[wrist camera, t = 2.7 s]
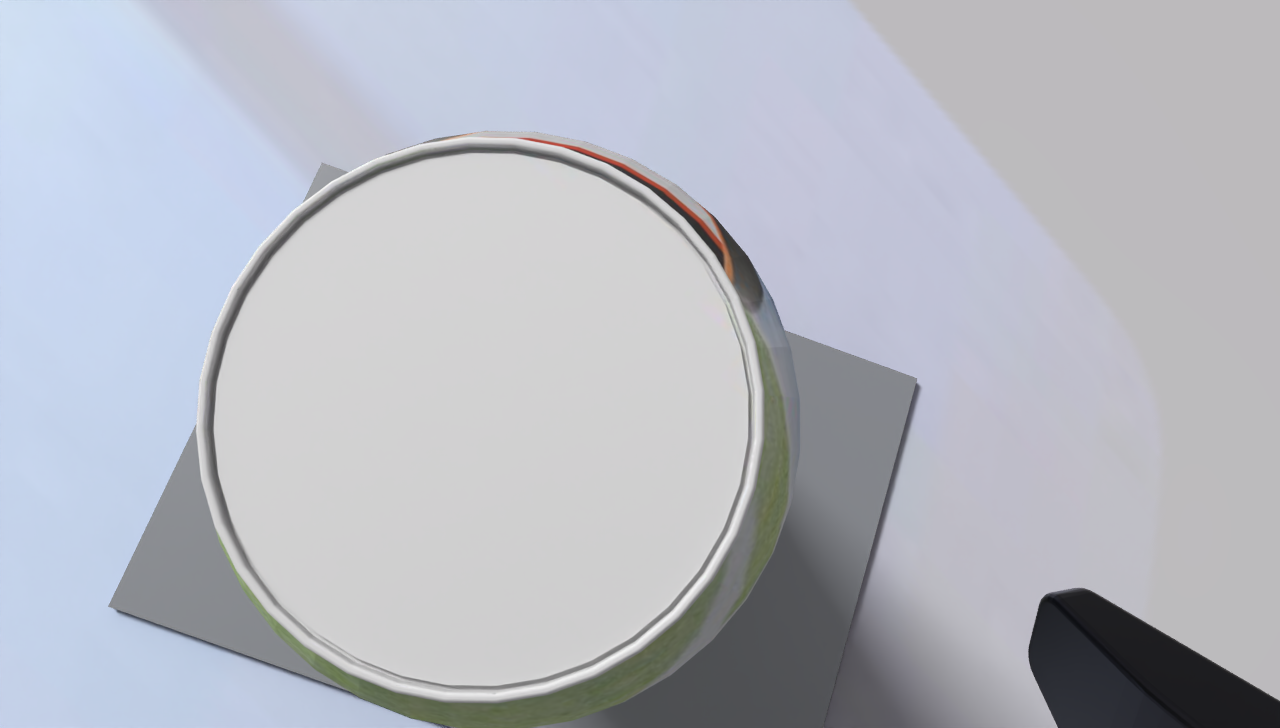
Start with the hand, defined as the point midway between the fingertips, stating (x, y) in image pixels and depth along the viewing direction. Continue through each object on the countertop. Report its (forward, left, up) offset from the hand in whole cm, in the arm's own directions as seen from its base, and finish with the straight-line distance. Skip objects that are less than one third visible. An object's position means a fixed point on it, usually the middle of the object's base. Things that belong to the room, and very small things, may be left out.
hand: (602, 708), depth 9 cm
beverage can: (+2, -3, -10) cm, 11 cm away
